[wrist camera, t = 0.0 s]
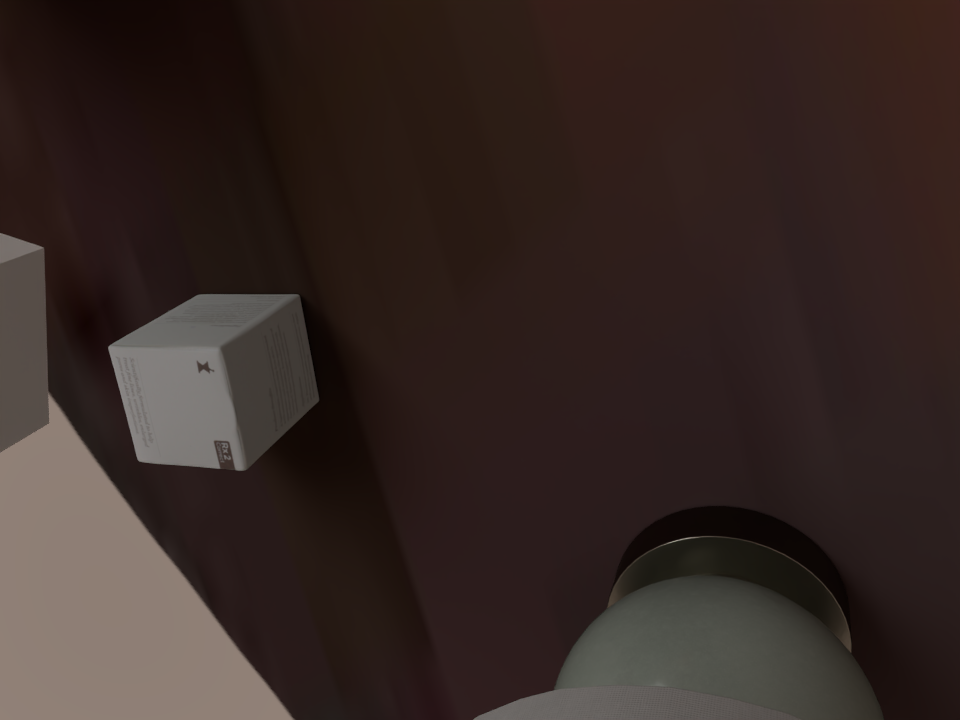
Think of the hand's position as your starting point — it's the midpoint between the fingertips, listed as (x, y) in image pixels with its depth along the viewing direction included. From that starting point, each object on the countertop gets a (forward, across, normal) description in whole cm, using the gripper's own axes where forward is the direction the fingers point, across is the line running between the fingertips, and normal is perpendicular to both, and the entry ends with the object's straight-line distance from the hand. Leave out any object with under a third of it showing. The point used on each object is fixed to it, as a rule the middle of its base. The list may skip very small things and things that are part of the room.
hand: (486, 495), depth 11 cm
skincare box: (+28, -18, -16) cm, 37 cm away
